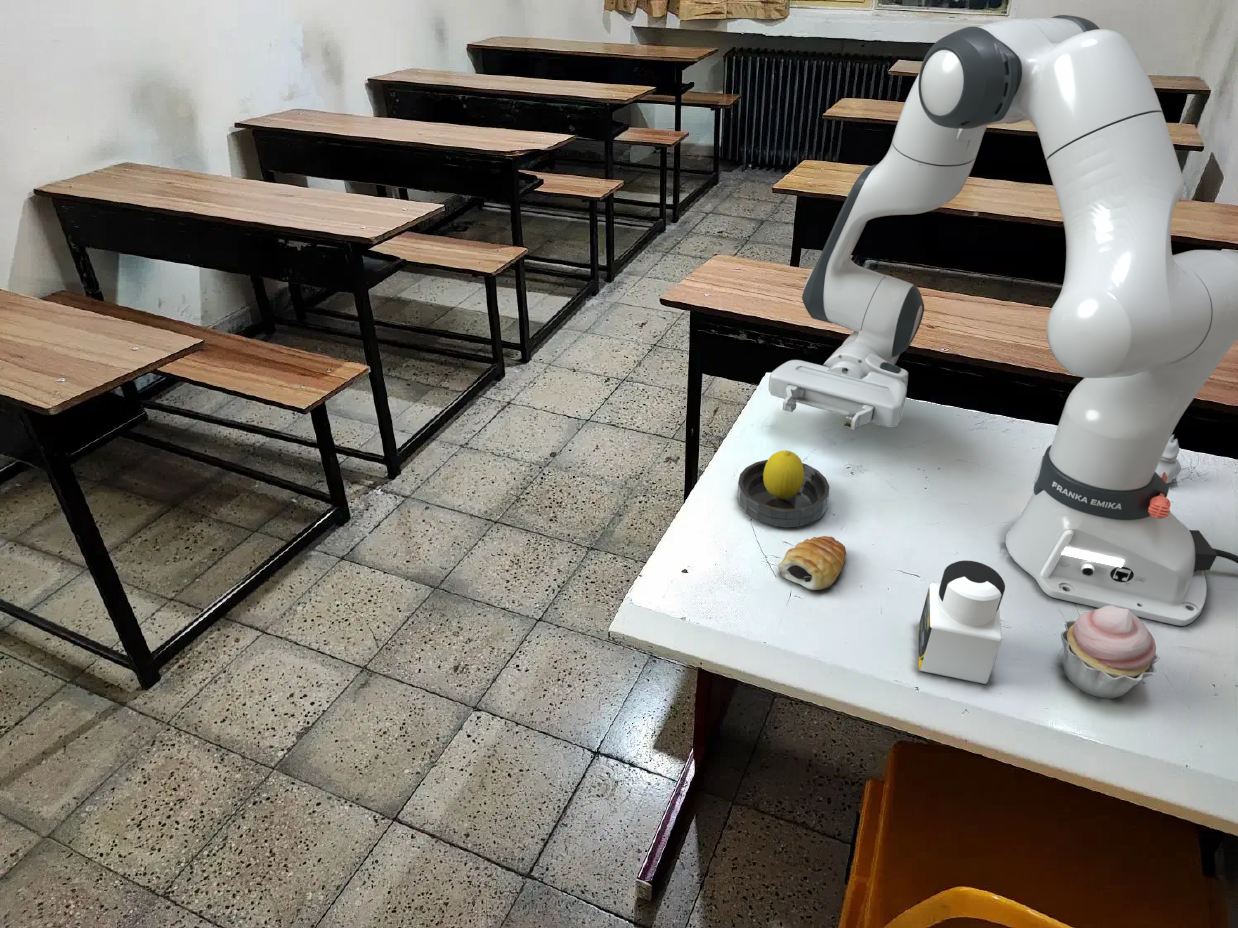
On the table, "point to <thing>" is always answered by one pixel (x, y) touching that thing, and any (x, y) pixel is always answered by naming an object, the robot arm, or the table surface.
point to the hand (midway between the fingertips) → (817, 415)
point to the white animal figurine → (1169, 461)
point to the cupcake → (1108, 651)
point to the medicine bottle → (962, 623)
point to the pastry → (814, 562)
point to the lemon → (783, 474)
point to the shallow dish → (782, 511)
